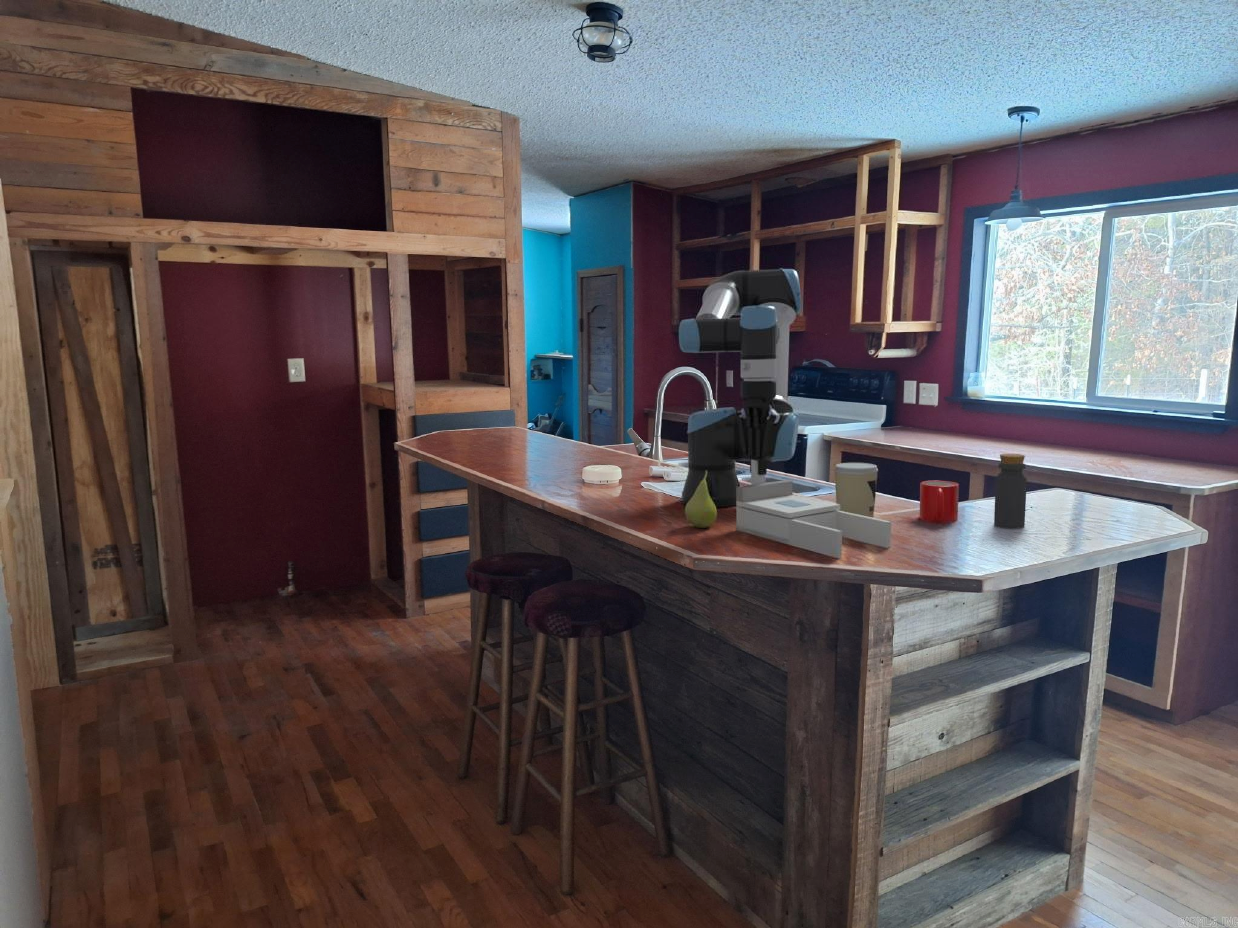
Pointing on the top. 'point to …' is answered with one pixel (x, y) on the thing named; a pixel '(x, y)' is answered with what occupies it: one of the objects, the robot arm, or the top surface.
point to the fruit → (701, 507)
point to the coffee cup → (856, 487)
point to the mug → (939, 501)
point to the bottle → (1010, 492)
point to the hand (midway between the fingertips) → (758, 489)
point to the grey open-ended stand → (815, 529)
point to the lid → (780, 500)
